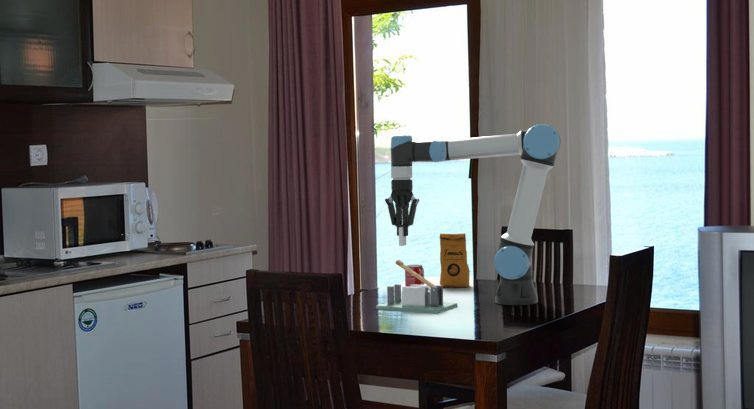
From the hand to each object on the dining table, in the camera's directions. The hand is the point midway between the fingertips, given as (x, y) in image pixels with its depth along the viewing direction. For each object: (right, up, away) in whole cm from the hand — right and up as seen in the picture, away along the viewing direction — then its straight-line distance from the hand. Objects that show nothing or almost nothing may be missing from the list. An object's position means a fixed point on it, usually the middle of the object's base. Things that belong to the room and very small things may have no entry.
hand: (402, 245), depth 330 cm
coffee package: (+23, -19, +51) cm, 59 cm away
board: (+5, -22, -2) cm, 23 cm away
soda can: (+5, -21, +17) cm, 28 cm away
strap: (+4, -11, -2) cm, 12 cm away
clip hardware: (+5, -22, -2) cm, 23 cm away
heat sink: (+6, -21, -2) cm, 22 cm away
